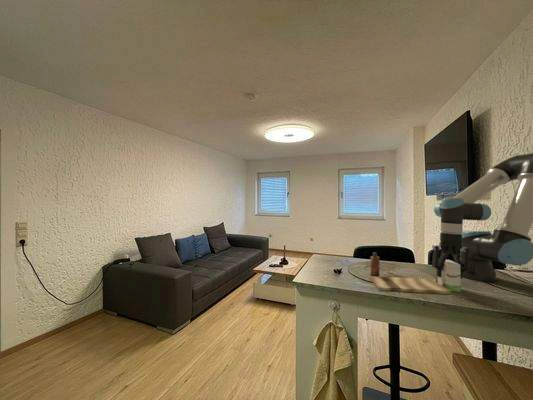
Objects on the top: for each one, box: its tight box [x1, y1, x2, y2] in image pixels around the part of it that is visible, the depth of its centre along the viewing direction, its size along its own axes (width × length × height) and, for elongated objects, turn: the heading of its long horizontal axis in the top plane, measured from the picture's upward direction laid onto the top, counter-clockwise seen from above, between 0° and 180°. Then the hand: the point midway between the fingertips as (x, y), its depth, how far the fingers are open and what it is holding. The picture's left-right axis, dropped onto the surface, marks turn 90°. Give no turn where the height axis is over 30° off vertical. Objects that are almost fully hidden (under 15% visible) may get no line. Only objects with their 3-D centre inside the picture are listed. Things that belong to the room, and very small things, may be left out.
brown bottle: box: [370, 252, 380, 277], centre depth 116 cm, size 4×4×12 cm
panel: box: [368, 275, 452, 295], centre depth 103 cm, size 28×14×1 cm, turn 81°
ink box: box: [437, 259, 462, 293], centre depth 100 cm, size 9×5×12 cm, turn 169°
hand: (448, 284), depth 100 cm, fingers open, 6 cm apart
